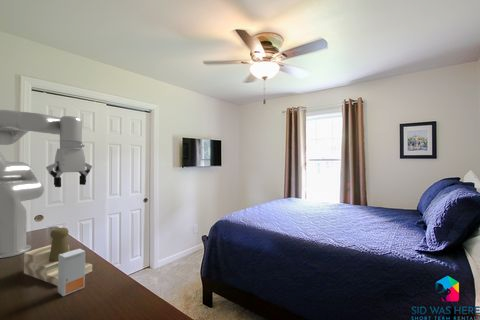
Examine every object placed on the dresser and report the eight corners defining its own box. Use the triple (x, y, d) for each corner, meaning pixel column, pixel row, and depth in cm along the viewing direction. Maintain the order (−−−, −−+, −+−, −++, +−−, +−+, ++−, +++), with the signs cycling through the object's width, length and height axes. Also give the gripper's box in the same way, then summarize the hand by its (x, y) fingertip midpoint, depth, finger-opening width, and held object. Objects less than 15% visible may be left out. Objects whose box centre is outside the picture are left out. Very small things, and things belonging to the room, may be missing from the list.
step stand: (24, 273, 82) (24, 252, 82) (58, 260, 92) (58, 242, 92) (58, 286, 73) (58, 263, 73) (92, 271, 84) (92, 251, 84)
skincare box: (63, 297, 68) (63, 257, 68) (57, 292, 70) (57, 254, 70) (85, 287, 73) (85, 250, 73) (79, 283, 75) (79, 247, 75)
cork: (57, 262, 79) (57, 231, 79) (44, 260, 81) (44, 230, 81) (73, 255, 85) (73, 226, 85) (61, 253, 87) (61, 225, 87)
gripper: (86, 147, 105) (85, 183, 105) (41, 144, 89) (41, 187, 89) (96, 146, 102) (96, 184, 102) (52, 144, 86) (52, 188, 86)
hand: (70, 185), depth 96 cm, fingers open, 9 cm apart
